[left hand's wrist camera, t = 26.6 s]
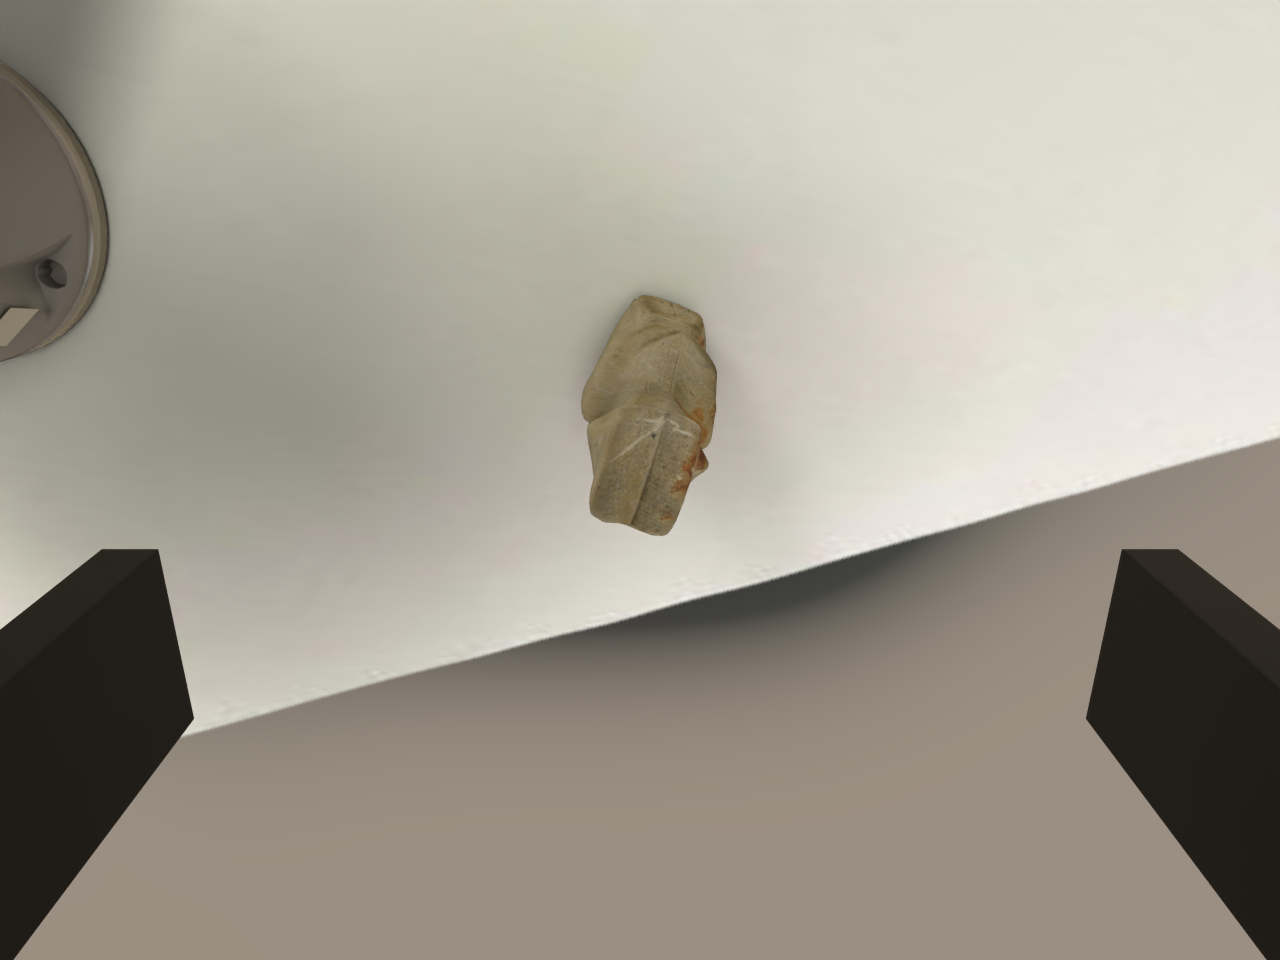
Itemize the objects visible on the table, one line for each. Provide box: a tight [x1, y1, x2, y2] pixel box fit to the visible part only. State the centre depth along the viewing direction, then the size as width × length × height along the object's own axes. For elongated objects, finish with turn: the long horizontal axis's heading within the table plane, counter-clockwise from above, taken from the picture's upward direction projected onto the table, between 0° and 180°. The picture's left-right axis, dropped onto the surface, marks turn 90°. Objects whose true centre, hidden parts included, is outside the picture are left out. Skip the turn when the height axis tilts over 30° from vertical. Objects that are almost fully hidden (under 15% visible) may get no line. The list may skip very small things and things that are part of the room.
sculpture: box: [582, 295, 717, 536], centre depth 40 cm, size 6×7×15 cm
